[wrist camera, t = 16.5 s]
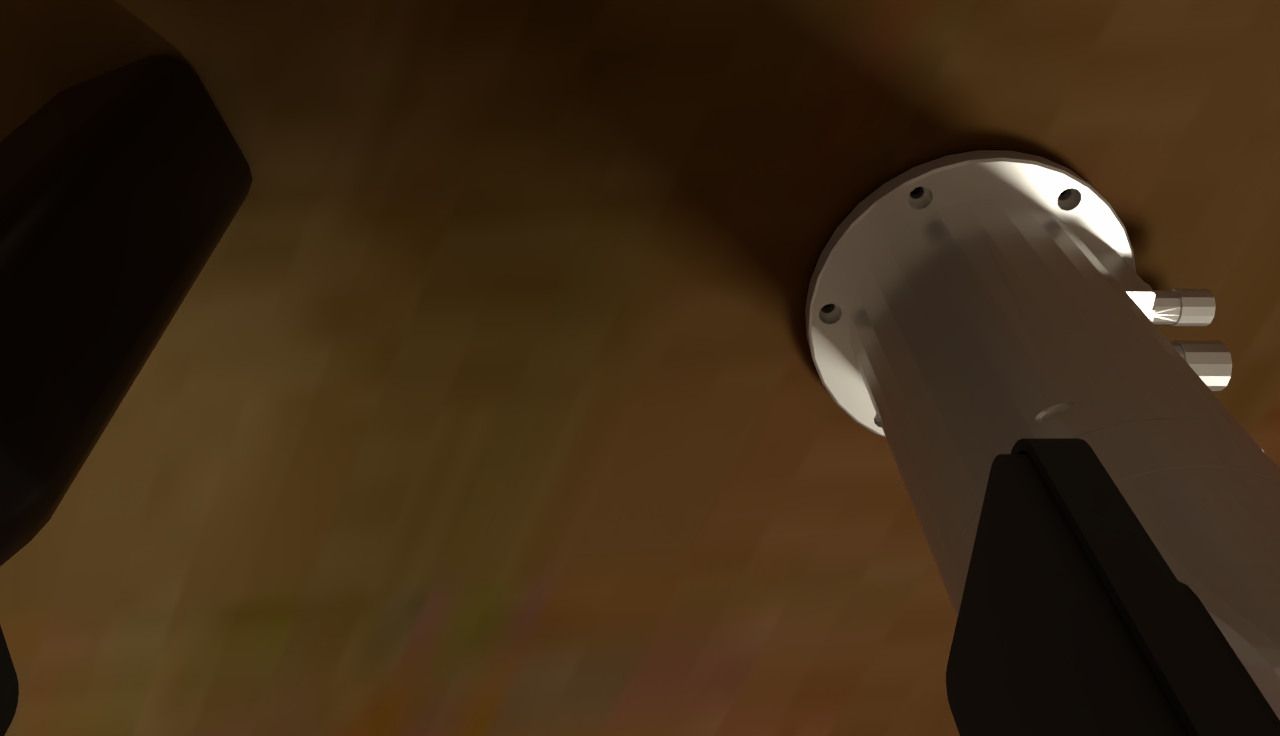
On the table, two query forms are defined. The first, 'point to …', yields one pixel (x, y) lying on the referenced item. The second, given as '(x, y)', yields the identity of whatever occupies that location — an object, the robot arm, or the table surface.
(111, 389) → the wine bottle
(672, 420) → the table surface
